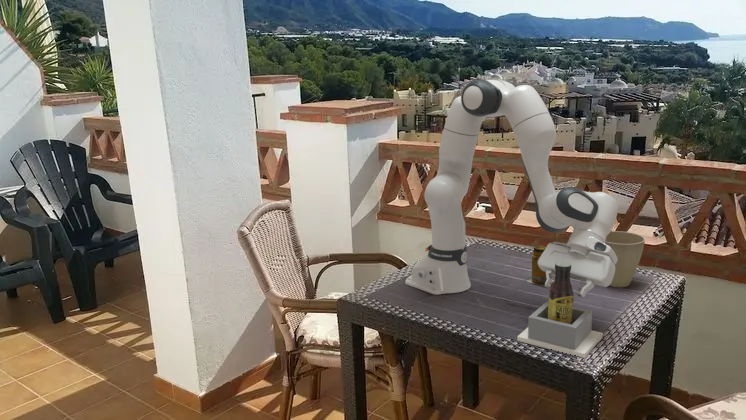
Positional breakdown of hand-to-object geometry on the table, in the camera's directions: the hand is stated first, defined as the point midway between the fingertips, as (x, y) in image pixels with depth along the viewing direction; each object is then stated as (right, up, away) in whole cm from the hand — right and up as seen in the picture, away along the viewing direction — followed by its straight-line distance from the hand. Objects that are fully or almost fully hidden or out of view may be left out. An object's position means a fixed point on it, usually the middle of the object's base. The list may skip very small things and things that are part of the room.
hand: (563, 291), depth 155 cm
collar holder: (0, -13, +2) cm, 13 cm away
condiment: (+7, -3, +42) cm, 43 cm away
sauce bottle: (0, -12, +2) cm, 12 cm away
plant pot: (+30, -3, +38) cm, 48 cm away
